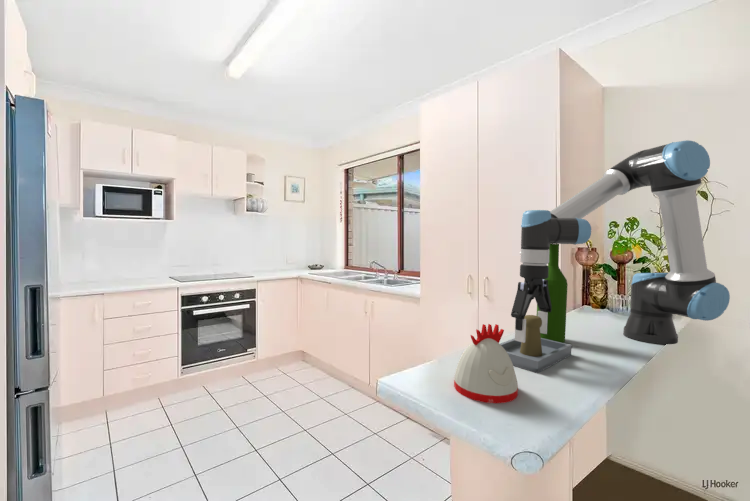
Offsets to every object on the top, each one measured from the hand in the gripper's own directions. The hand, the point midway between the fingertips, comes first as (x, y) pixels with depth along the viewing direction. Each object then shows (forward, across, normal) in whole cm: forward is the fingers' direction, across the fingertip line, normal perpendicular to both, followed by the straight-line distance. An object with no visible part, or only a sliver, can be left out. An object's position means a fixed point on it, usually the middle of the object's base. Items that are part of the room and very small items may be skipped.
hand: (531, 337), depth 104 cm
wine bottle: (+6, -22, -4) cm, 23 cm away
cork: (+5, 0, 0) cm, 5 cm away
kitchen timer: (+6, +30, +4) cm, 31 cm away
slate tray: (+6, 0, 0) cm, 6 cm away
